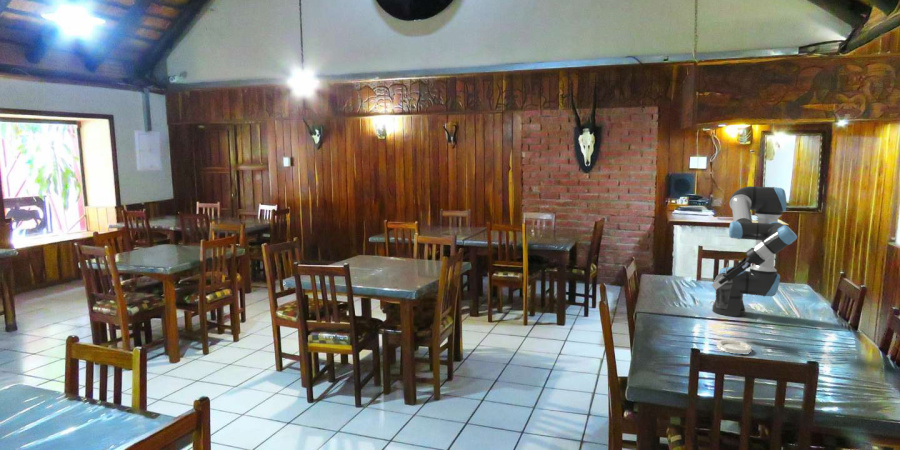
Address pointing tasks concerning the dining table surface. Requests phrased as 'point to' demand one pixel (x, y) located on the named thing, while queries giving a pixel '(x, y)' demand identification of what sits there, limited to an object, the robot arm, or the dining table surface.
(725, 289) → the beverage cup
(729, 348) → the plate
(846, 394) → the dining table surface
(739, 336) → the dining table surface
